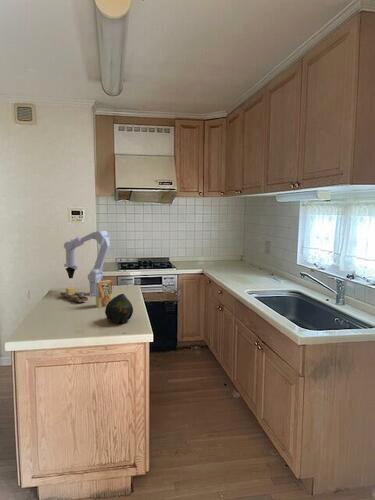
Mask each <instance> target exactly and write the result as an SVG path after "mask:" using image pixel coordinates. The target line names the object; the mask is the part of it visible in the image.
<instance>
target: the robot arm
mask: <svg viewBox="0 0 375 500" xmlns="http://www.w3.org/2000/svg"><path fill="white" fill-rule="evenodd" d="M110 236H111V235H110V233H109V232H108V231H107V230H96V231H93V232H91V233H89V234H87V235H85V236H82V237H81V236H76V237H75V238H74V239H70V241H65V242H64V244H63V248H64V249H65V263H64V264H63V267H65V271H66V273H67V275H68V279H73V277H74V274H75V271H76V270H77V269H78V266H77V265H76V259H75V257H76V255H75V251H76V248H78V247H81V246H83V245H84V244H85V242H87V241H90V240H95V241H96V242H97V243H98V244H99V246H100V249H99V251H98V254H97V257H96V261H95V262H94V263H95V264H94V265H93V268H92V269H91V270H90V272H89V273H88V275H87V280H88V281H89V293H88V294H89V297H94V296H95V297H96V282H98V281H102V279H103V273H104V270H103V266H104V263H105V261H106V259H107V255H108V253H109V250H110V246H111V242H110Z"/></svg>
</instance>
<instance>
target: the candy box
mask: <svg viewBox="0 0 375 500" xmlns="http://www.w3.org/2000/svg"><path fill="white" fill-rule="evenodd" d="M112 299H113V281H112V280H110V279H106V280H101V281H98V282H96V296H95V303H96V304H95V306H96V307H97V308H99V309H100V308H106V306H107V304H108V303H109V302H110V301H111V300H112Z"/></svg>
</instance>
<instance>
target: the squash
mask: <svg viewBox="0 0 375 500" xmlns="http://www.w3.org/2000/svg"><path fill="white" fill-rule="evenodd" d="M133 307H134V306H133V305H132V303H131V301H130V300H129V299H128V298H127V296H126V295H125V294H124V293H121V294H117V295H116V296H114V297H112V300H111V301H110V302H109V303H108V304H107V306H106V307H105V309H104V313H105V317H106V318H107V319H108V320H109V321H113V323H115V324H119V323H121V324H122V323H125V322H126V321H129V320H130V319H132V316H133V314H134V308H133Z"/></svg>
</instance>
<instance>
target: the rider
mask: <svg viewBox="0 0 375 500" xmlns="http://www.w3.org/2000/svg"><path fill="white" fill-rule="evenodd" d="M65 292H66V294H68V295H73V294H74V293H75V288H74V287H72V286H71V287H66V288H65Z"/></svg>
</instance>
